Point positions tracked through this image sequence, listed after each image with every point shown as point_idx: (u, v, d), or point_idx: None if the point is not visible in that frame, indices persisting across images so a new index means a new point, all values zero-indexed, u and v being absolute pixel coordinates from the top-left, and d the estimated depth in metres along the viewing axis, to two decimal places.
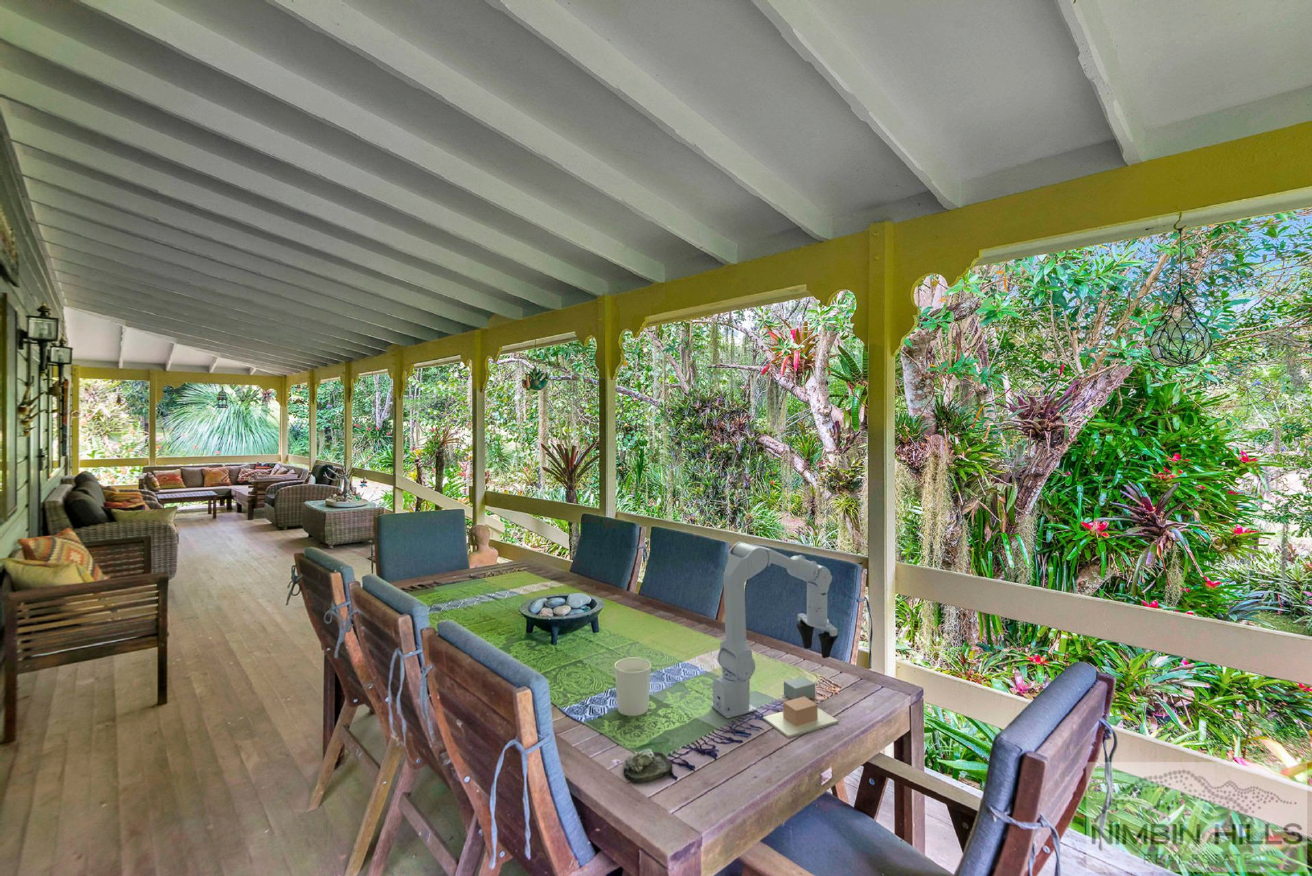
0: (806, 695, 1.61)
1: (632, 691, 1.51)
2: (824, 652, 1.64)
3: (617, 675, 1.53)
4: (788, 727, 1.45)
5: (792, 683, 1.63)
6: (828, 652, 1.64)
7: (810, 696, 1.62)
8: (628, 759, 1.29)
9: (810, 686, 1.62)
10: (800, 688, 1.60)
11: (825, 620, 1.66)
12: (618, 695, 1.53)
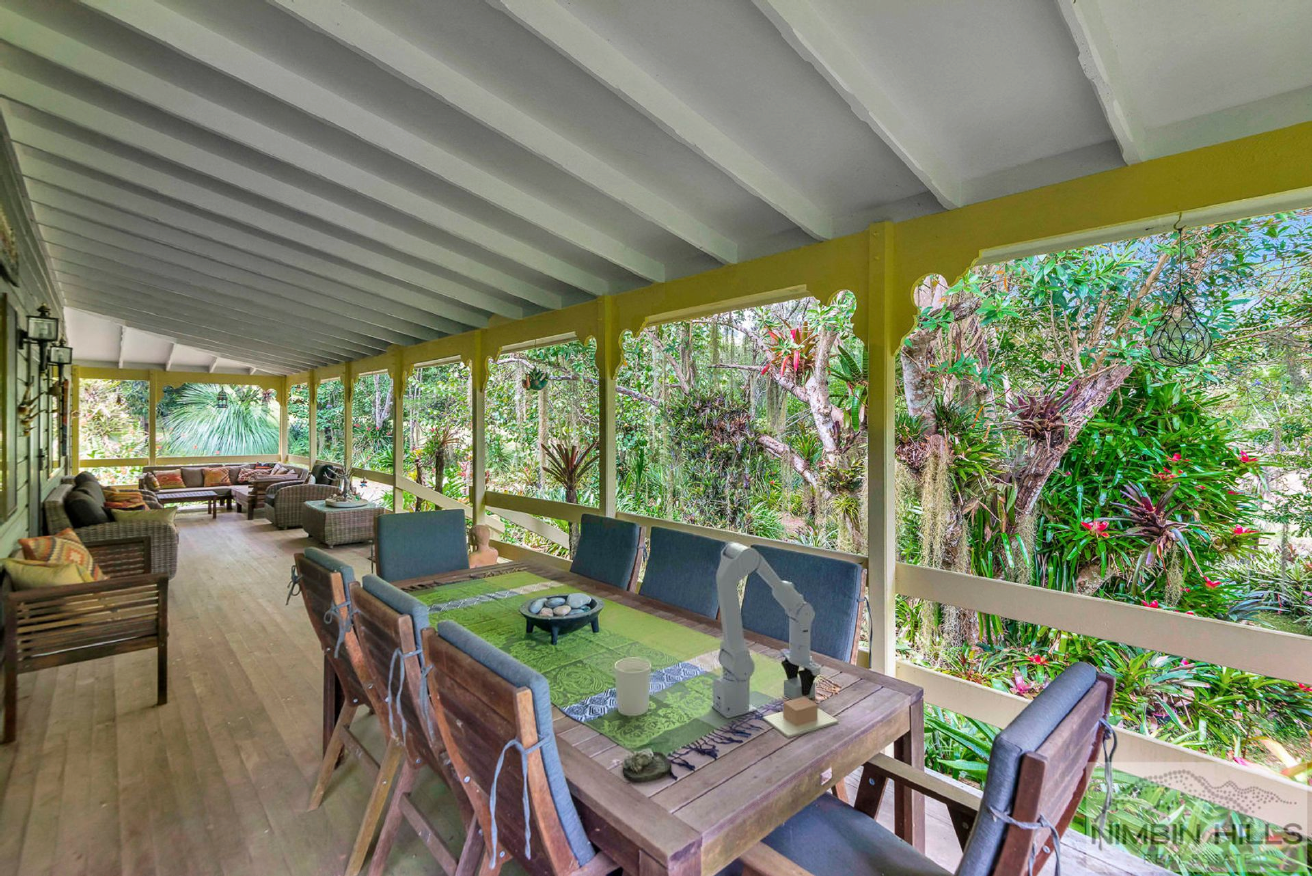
0: None
1: (632, 691, 1.51)
2: (804, 690, 1.60)
3: (617, 675, 1.53)
4: (788, 727, 1.45)
5: (792, 682, 1.63)
6: (808, 689, 1.60)
7: (810, 696, 1.62)
8: (627, 758, 1.29)
9: None
10: None
11: (808, 658, 1.61)
12: (618, 695, 1.53)
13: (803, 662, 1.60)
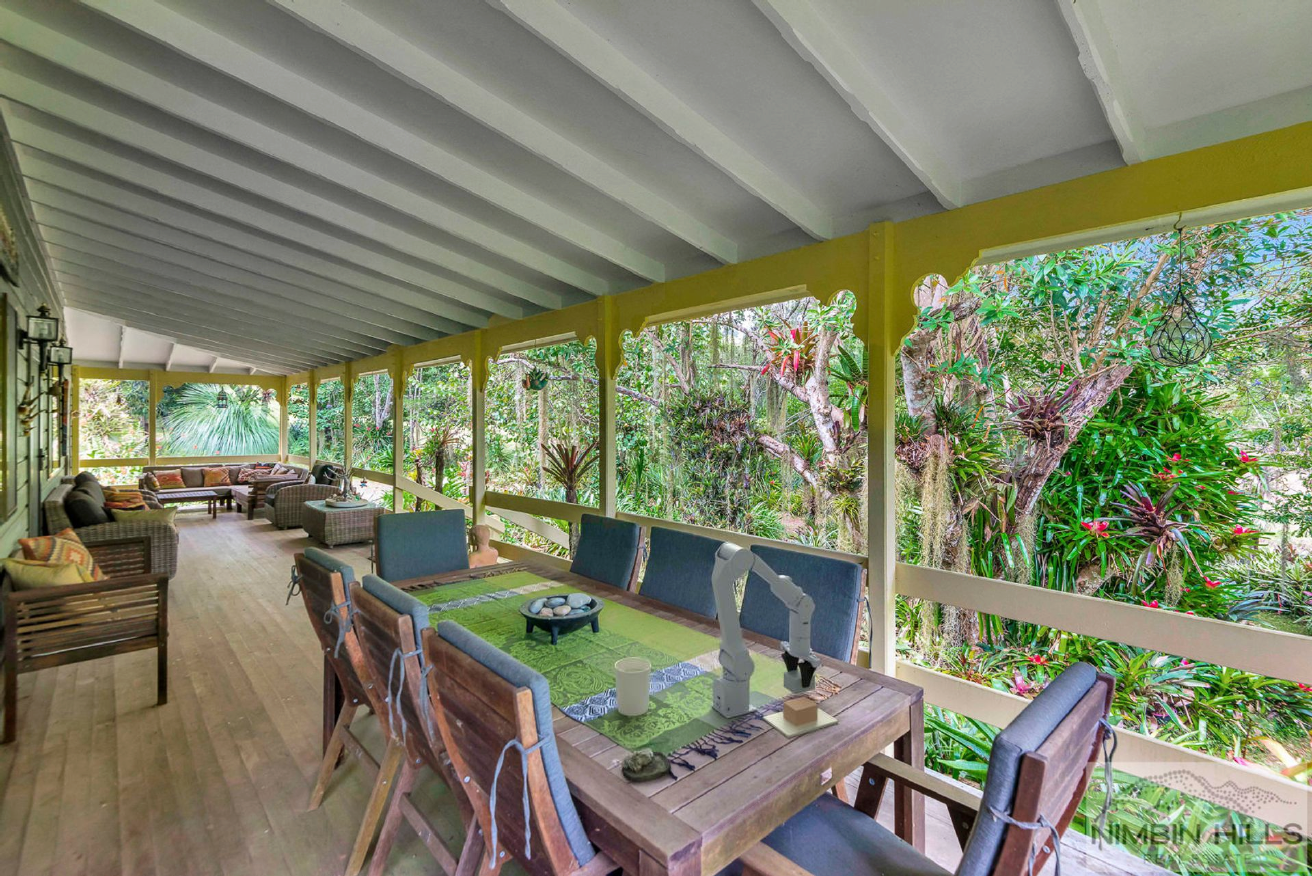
0: None
1: (632, 691, 1.51)
2: (804, 682, 1.60)
3: (617, 675, 1.53)
4: (788, 727, 1.45)
5: (792, 674, 1.62)
6: (808, 682, 1.60)
7: (810, 688, 1.62)
8: (627, 758, 1.29)
9: None
10: (800, 679, 1.60)
11: (808, 650, 1.61)
12: (618, 695, 1.53)
13: (803, 654, 1.60)
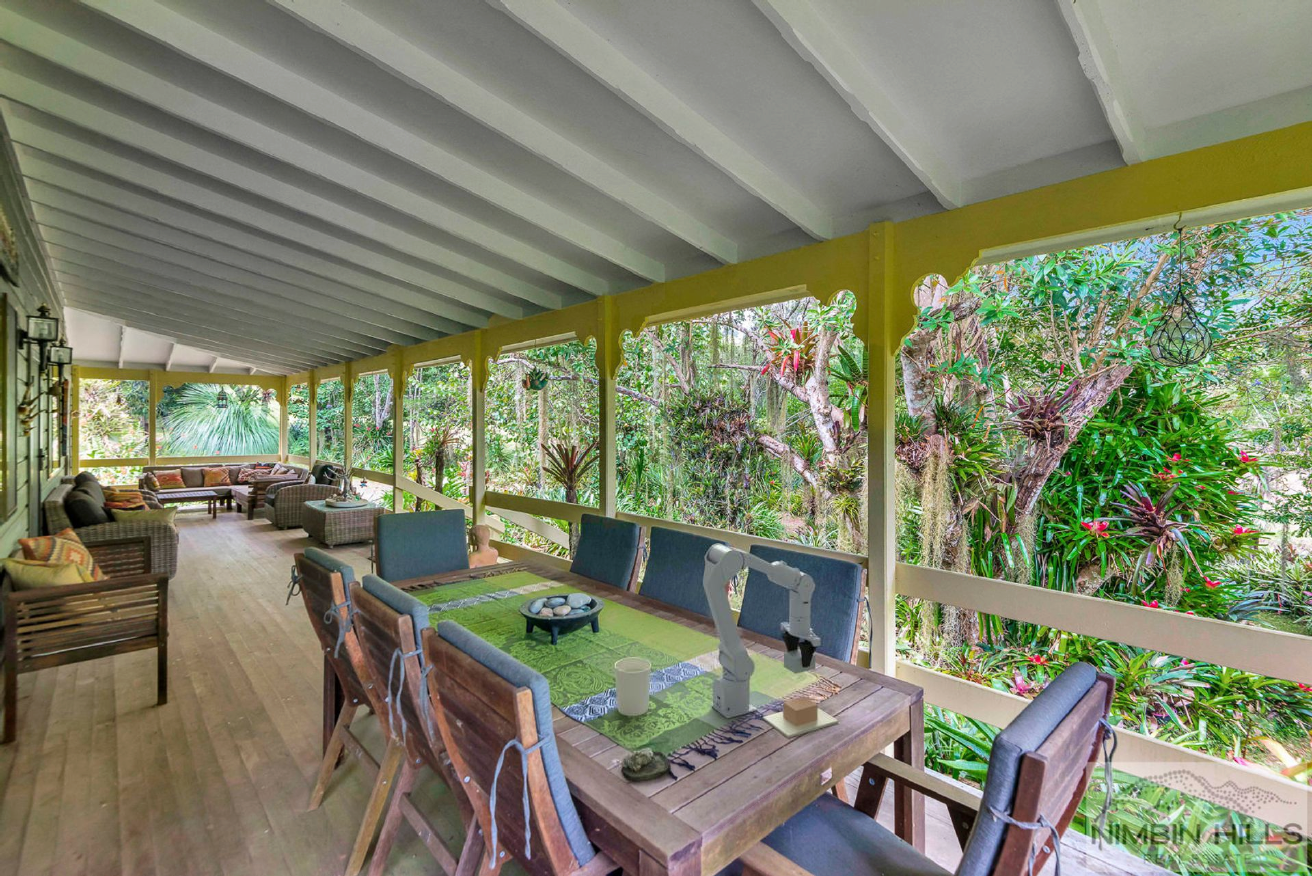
0: None
1: (632, 691, 1.51)
2: (804, 661, 1.59)
3: (617, 675, 1.53)
4: (788, 727, 1.45)
5: (792, 654, 1.62)
6: (808, 661, 1.60)
7: (811, 668, 1.62)
8: (627, 758, 1.29)
9: None
10: (801, 659, 1.60)
11: (808, 629, 1.61)
12: (618, 695, 1.53)
13: (803, 634, 1.60)
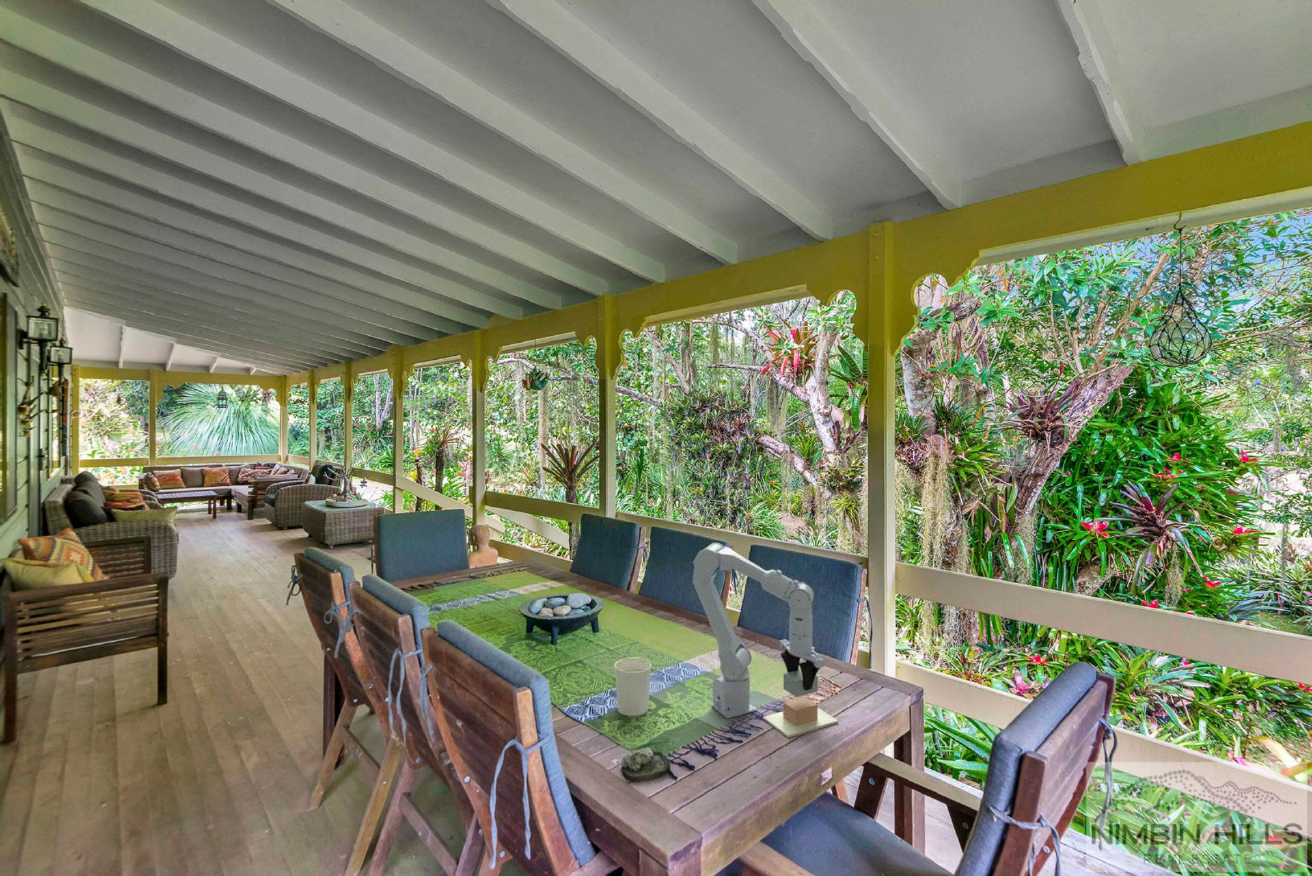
0: None
1: (632, 691, 1.51)
2: (806, 683, 1.46)
3: (617, 675, 1.53)
4: (788, 727, 1.45)
5: (792, 675, 1.49)
6: (810, 683, 1.46)
7: (813, 690, 1.48)
8: (626, 757, 1.30)
9: None
10: (802, 681, 1.46)
11: (810, 649, 1.47)
12: (618, 695, 1.53)
13: (805, 653, 1.46)
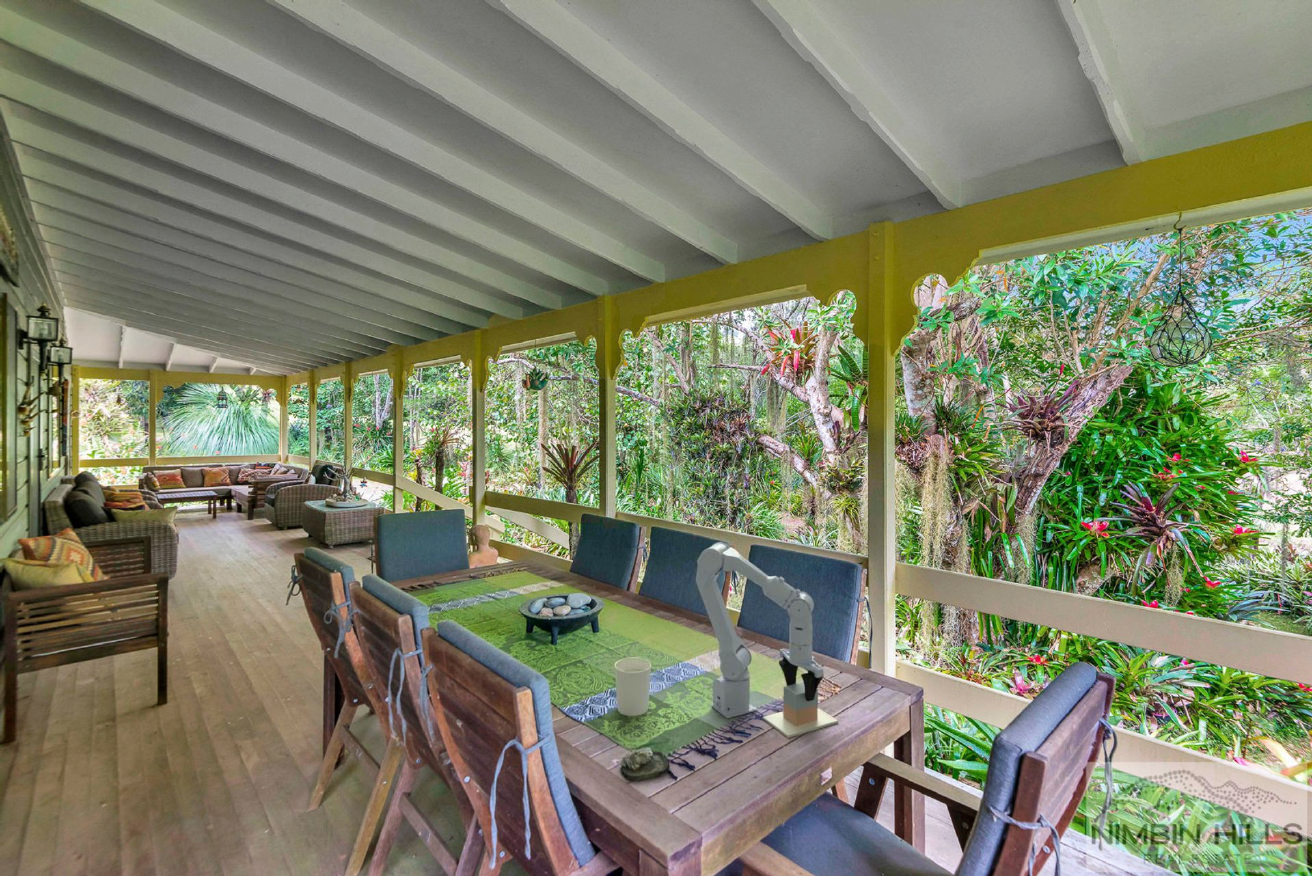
0: (808, 702, 1.47)
1: (632, 691, 1.51)
2: (808, 694, 1.45)
3: (617, 675, 1.53)
4: (788, 727, 1.45)
5: (792, 688, 1.49)
6: (812, 694, 1.46)
7: (813, 704, 1.48)
8: (626, 757, 1.30)
9: None
10: (802, 694, 1.46)
11: (810, 658, 1.47)
12: (618, 695, 1.53)
13: (804, 663, 1.46)
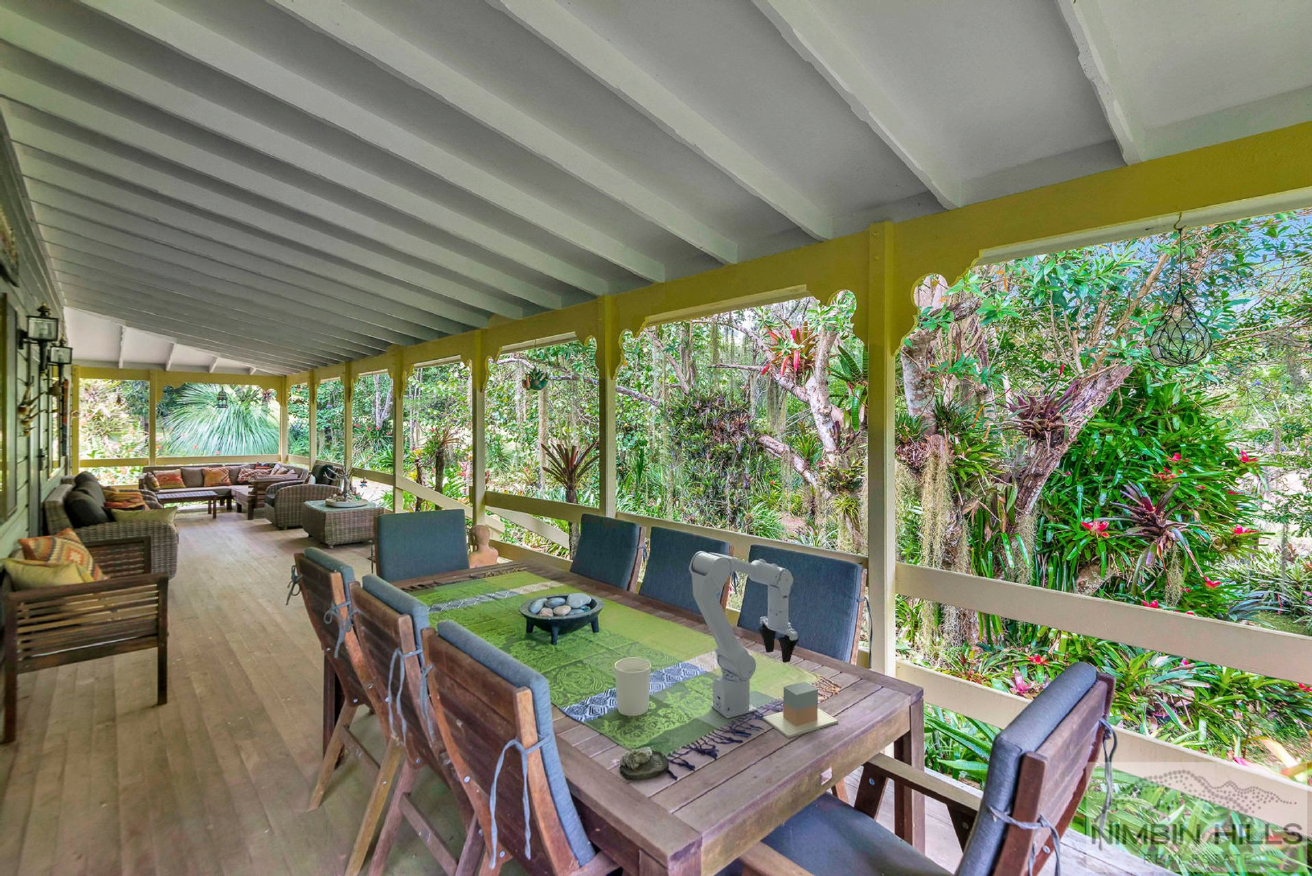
0: (808, 702, 1.47)
1: (632, 691, 1.51)
2: (784, 656, 1.60)
3: (617, 675, 1.53)
4: (788, 727, 1.45)
5: (792, 688, 1.49)
6: (789, 656, 1.61)
7: (813, 704, 1.48)
8: (625, 756, 1.30)
9: (813, 692, 1.48)
10: (802, 694, 1.46)
11: (786, 624, 1.62)
12: (618, 695, 1.53)
13: (781, 628, 1.61)
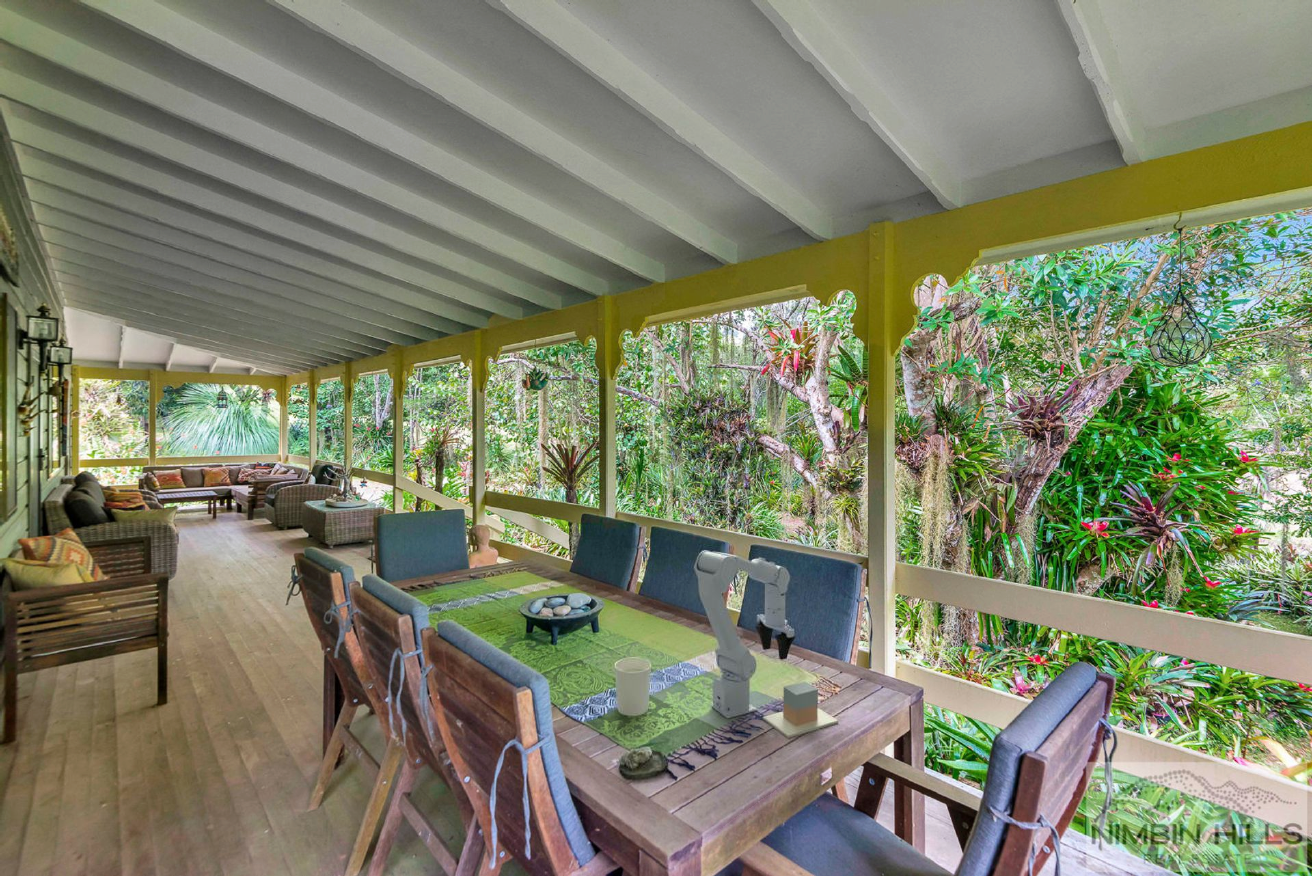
0: (808, 702, 1.47)
1: (632, 691, 1.51)
2: (781, 653, 1.62)
3: (617, 675, 1.53)
4: (788, 727, 1.45)
5: (792, 688, 1.49)
6: (785, 653, 1.63)
7: (813, 704, 1.48)
8: (625, 755, 1.30)
9: (813, 692, 1.48)
10: (802, 694, 1.46)
11: (783, 621, 1.64)
12: (618, 695, 1.53)
13: (778, 625, 1.63)
